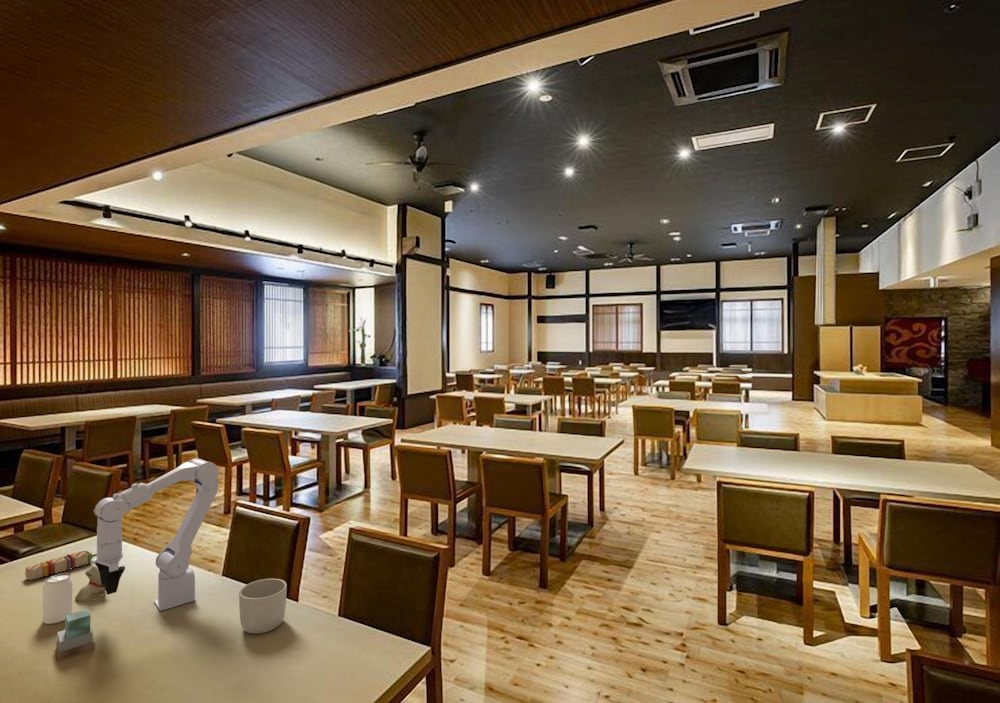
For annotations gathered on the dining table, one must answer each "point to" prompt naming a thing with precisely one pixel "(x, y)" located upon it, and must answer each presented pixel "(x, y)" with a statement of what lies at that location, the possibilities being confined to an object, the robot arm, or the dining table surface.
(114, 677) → the dining table surface
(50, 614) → the can
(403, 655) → the dining table surface
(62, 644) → the tower top
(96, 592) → the chocolate bunny
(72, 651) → the tower base
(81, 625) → the teal block
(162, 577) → the robot arm
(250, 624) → the planter
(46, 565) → the skewer
